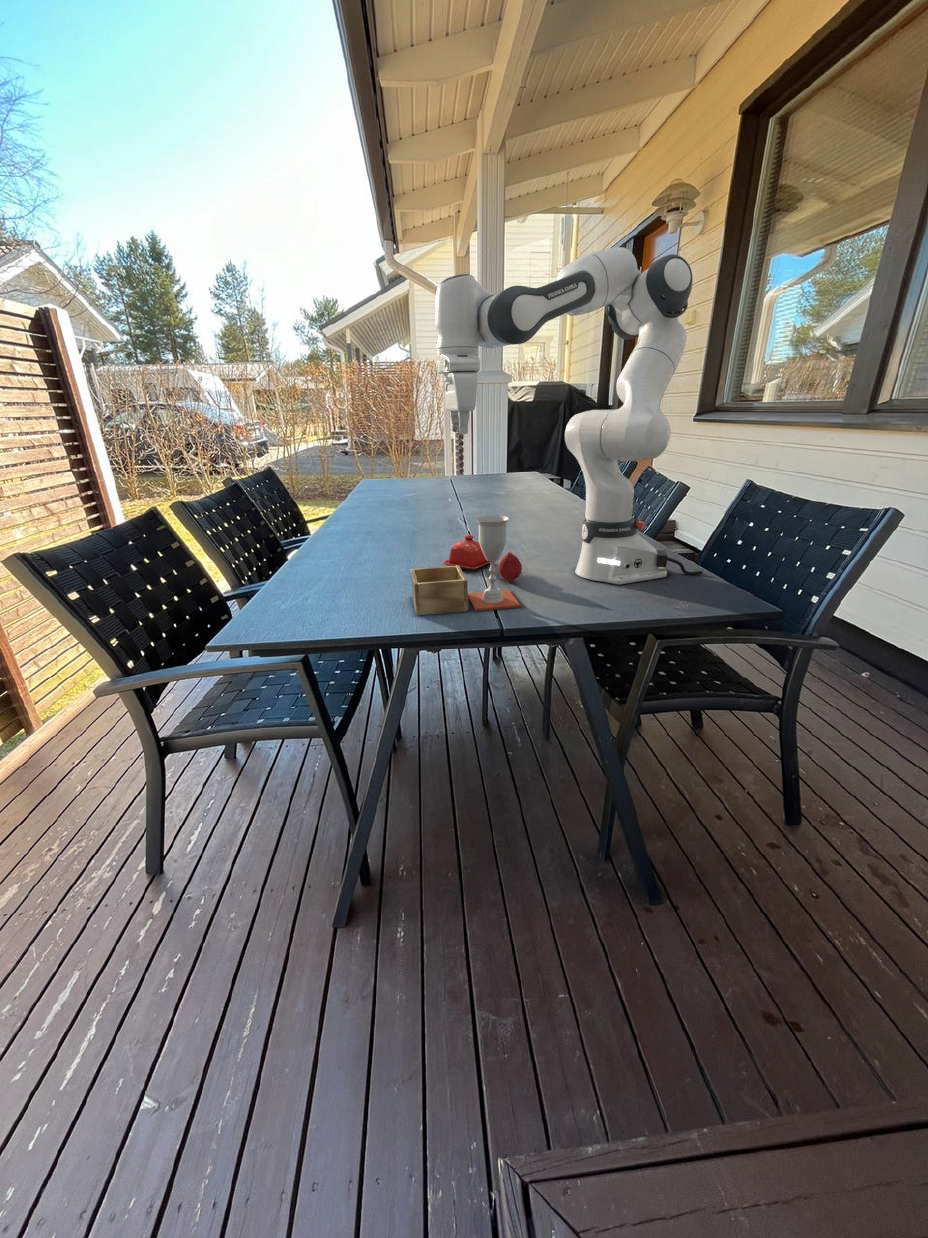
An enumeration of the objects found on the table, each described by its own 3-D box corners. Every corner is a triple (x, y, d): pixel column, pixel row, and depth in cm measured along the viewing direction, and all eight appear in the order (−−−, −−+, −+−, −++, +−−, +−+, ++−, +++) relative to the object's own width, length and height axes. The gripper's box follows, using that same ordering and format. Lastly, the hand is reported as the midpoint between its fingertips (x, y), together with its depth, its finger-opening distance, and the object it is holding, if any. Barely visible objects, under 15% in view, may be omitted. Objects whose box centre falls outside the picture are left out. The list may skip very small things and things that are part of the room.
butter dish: (464, 557, 151) (463, 528, 148) (498, 563, 145) (498, 532, 142) (440, 567, 143) (438, 536, 140) (474, 574, 137) (474, 542, 133)
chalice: (505, 605, 113) (506, 522, 106) (474, 603, 115) (473, 522, 108) (509, 594, 120) (510, 515, 113) (480, 592, 121) (479, 514, 114)
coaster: (508, 592, 123) (508, 589, 123) (520, 607, 114) (520, 604, 113) (467, 595, 121) (466, 593, 121) (475, 611, 112) (475, 608, 112)
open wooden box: (459, 594, 123) (458, 565, 120) (468, 611, 112) (467, 580, 110) (412, 598, 121) (410, 568, 118) (416, 615, 111) (414, 584, 108)
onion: (526, 581, 130) (526, 550, 127) (511, 587, 126) (512, 555, 123) (507, 577, 133) (507, 546, 130) (493, 583, 129) (493, 551, 126)
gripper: (437, 367, 121) (439, 431, 126) (450, 360, 102) (452, 435, 108) (464, 367, 122) (465, 430, 127) (481, 360, 103) (482, 434, 108)
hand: (459, 432), depth 117 cm, fingers open, 8 cm apart
